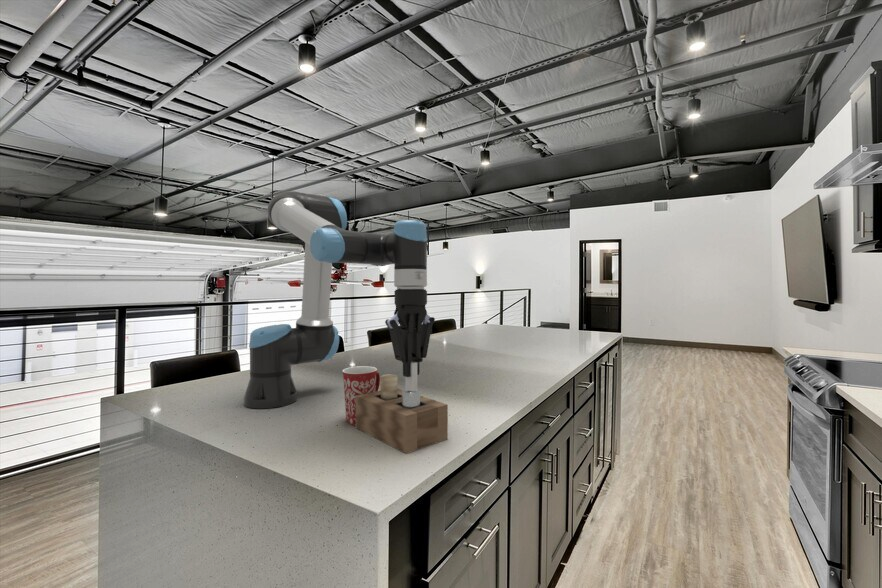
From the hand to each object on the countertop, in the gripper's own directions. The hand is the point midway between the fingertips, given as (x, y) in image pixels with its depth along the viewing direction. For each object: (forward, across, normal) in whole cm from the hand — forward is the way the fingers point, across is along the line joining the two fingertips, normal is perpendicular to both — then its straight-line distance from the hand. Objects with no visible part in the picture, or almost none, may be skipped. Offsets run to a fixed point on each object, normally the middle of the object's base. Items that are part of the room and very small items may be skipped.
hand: (411, 389), depth 90 cm
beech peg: (+6, 0, +9) cm, 11 cm away
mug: (+11, -1, +20) cm, 23 cm away
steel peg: (+8, 0, 0) cm, 8 cm away
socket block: (+11, 0, +5) cm, 12 cm away
